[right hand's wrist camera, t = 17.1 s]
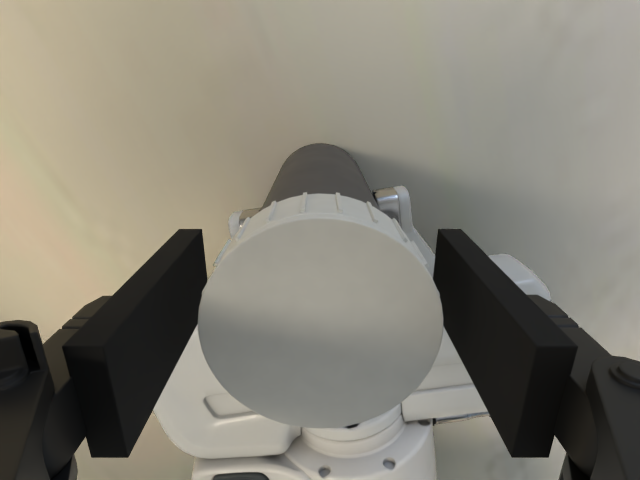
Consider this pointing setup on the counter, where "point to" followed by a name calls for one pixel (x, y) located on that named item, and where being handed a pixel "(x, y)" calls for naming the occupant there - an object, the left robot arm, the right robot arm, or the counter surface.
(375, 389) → the lid
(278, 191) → the dark grey tall cylinder
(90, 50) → the counter surface
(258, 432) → the left robot arm
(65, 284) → the counter surface
